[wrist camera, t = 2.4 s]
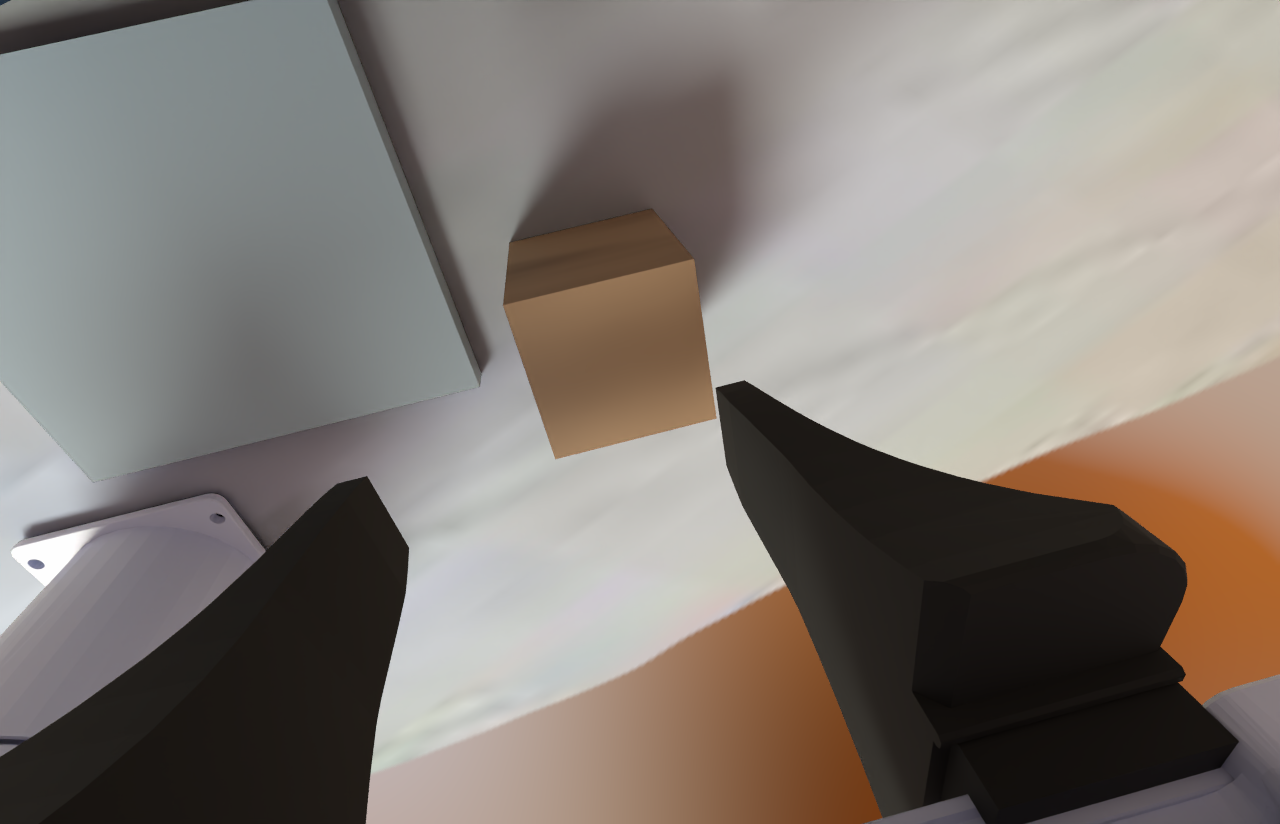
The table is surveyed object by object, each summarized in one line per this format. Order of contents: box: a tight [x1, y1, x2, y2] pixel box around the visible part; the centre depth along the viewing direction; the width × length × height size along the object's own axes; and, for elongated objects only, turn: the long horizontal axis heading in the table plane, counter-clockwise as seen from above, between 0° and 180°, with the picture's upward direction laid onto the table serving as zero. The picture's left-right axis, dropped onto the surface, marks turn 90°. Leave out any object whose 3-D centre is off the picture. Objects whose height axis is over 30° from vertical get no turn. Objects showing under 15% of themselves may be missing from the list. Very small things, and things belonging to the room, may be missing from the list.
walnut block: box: [503, 209, 716, 459], centre depth 19 cm, size 5×5×6 cm
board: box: [0, 0, 482, 482], centre depth 18 cm, size 12×14×1 cm
